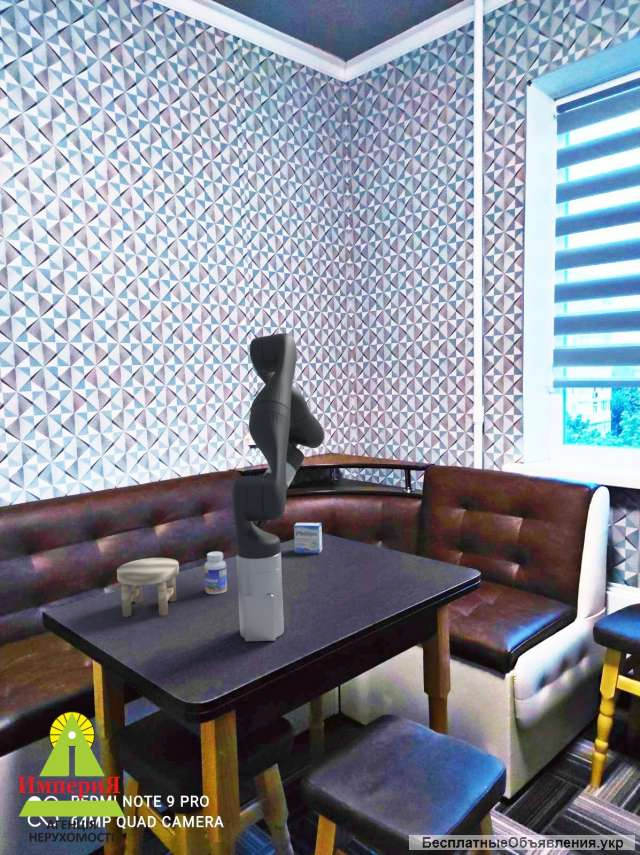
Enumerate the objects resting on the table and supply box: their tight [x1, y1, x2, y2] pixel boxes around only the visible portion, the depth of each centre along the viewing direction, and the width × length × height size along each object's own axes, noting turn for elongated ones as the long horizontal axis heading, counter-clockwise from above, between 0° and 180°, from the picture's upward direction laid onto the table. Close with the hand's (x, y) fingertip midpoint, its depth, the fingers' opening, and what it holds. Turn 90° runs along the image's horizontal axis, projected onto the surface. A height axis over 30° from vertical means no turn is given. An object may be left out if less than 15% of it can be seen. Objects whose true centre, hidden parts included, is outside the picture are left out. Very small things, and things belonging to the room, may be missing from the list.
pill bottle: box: [204, 550, 228, 595], centre depth 153 cm, size 5×5×10 cm
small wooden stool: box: [116, 557, 180, 618], centre depth 143 cm, size 14×14×10 cm
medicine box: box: [293, 522, 323, 554], centre depth 185 cm, size 8×4×9 cm, turn 80°
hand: (245, 528), depth 159 cm, fingers open, 8 cm apart
